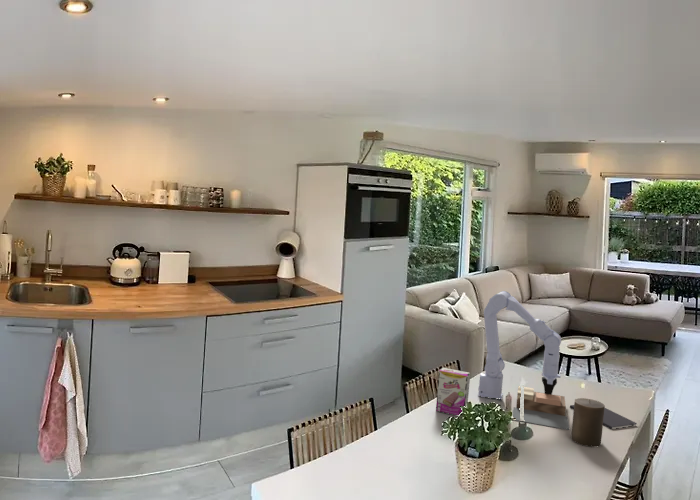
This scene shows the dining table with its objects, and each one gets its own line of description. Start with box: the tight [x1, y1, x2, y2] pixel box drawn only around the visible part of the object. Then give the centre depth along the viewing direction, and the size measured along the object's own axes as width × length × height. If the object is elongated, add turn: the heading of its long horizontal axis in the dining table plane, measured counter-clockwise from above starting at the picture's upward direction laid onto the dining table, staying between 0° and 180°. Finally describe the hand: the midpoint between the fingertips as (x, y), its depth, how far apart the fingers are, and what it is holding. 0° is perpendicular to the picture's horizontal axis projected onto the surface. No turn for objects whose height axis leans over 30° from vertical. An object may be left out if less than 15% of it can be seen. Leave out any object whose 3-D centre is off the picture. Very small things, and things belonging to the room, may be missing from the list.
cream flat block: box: [516, 385, 535, 400], centre depth 219 cm, size 9×6×2 cm, turn 161°
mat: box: [512, 406, 570, 431], centre depth 207 cm, size 20×13×1 cm, turn 71°
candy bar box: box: [435, 367, 471, 416], centre depth 207 cm, size 11×5×16 cm, turn 65°
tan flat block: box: [515, 391, 567, 416], centre depth 218 cm, size 18×12×4 cm, turn 71°
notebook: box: [569, 404, 637, 430], centre depth 212 cm, size 13×2×21 cm
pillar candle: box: [570, 397, 606, 448], centre depth 188 cm, size 10×10×15 cm
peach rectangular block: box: [535, 391, 561, 406], centre depth 214 cm, size 9×6×2 cm, turn 71°
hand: (547, 396), depth 218 cm, fingers closed
